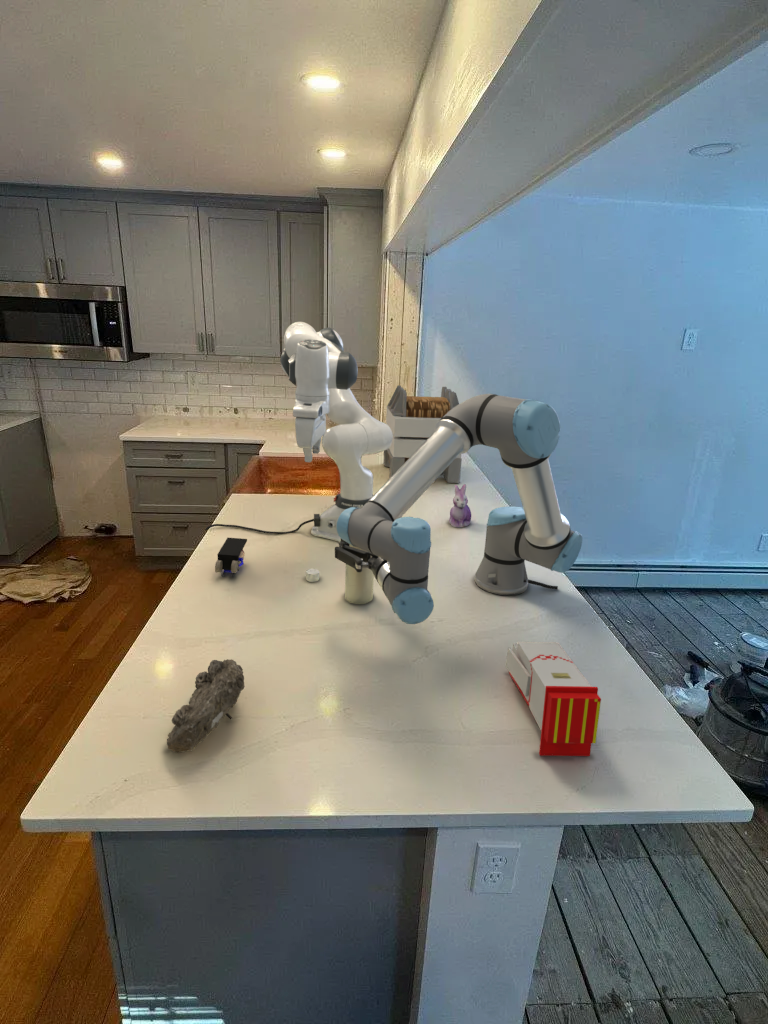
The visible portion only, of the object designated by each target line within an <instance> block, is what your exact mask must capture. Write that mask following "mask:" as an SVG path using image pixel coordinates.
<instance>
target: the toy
mask: <svg viewBox="0 0 768 1024" xmlns="http://www.w3.org/2000/svg"><path fill="white" fill-rule="evenodd" d="M511 646H512V647H508V648H507V653H506V658H505V659H506V660H505V668H506V669H507V671H508V675H509V676H510V677H511V679H512V681H513V682H514V684H515V686H516V688H517V689H518V691H519V693H520V694H521V696H522V698H523V700H524V702H525V703H526V705H527V706H528V708H529V710H530V712H531V715H532V716H533V718H534V720H535V722H536V723H537V724H536V725H537V726H538V727H539V730H540V731H541V733H540V739H539V740H540V741H539V749H538V751H539V752H538V754H539V756H543V757H548V756H550V757H551V756H552V757H553V756H554V757H568V756H569V757H591V751H592V744H596V743H597V734H598V726H599V717H600V710H601V702H602V698H601V697H600V696H599V694H598V693H599V688H598V686H592V684H590V682H589V681H588V680H587V678H586V677H585V676H584V675H583V673H582V672H581V671H580V669H579V668H578V667H577V665H576V664H575V663H574V661H573V660H572V659H571V658H570V656H569V655H568V654H567V652H566V651H565V649H564V647H562V645H561V644H560V643H559V642H553V641H551V642H549V641H548V642H547V641H546V642H545V641H517V642H512V645H511Z"/></svg>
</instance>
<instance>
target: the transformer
mask: <svg viewBox="0 0 768 1024" xmlns="http://www.w3.org/2000/svg"><path fill="white" fill-rule="evenodd" d="M440 393H441V394H440V396H415V395H414V396H413V395H412V396H411V395H407V394H408V393H407V390H406V389H404V388H403V387H402V385H399V384H398V385H397V386H396V388H395V390H394V392H393V394H392V395H391V398H390V400H389V402H388V404H387V405H386V413H385V414H386V415H385V423H386V424H387V425H388V426H389V427H390V429H391V431H392V436H393V438H392V443H391V446H390V447H389V448H388V449H387V450H385V451H383V466H384V467H388V468H389V475H388V476H389V477H388V478H389V479H390V478H391V477H392V476H393V475H394V474H395V473H396V471H397V470H398V469H399V468H400V467H401V466H402V465H403V464H404V463H405V462H406V461H407V460H408V459H409V458H410V457H411V456H412V455H413V454H414V453H415V452H416V451H417V450H418V449H419V448H420V446H421V445H422V444H423V443H424V442H425V441H426V440H427V439H428V438H429V437H430V436H431V435H432V434H433V433H434V432H435V425H436V423H437V422H438V421H439V420H440V419H441V418H442V417H443V416H444V415H445V414H447V413H448V412H449V411H450V410H451V409H453V408H454V407H456V406H457V405H459V404H460V402H459V398H458V395H457V392H455V391H453V390H452V389H451V388H447V386H442V387H441V392H440ZM462 461H463V460H462V454H459V455H458V456H457V457H456V458H455V459H454V460H453V461H452V462H451V464H450V465H449V466H448V467H447V468H446V469H445V470H444V471H443V472H442V473H441V474H440V475H443V478H444V479H445V481H446V482H447V483H449V484H455V483H456V484H459V483H461V472H462Z"/></svg>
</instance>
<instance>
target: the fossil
mask: <svg viewBox="0 0 768 1024" xmlns="http://www.w3.org/2000/svg"><path fill="white" fill-rule="evenodd" d="M243 670H244V669H243V667H242V665H240V664H237V662H236V661H235V660H234V659H232V658H231V659H227V658H226V659H224V660H223V661H222V660H217V659H212V660H211V661H210V663H209V665H208V666H207V671H201V672H199V673H198V674H197V675H196V676H195V680H194V684H195V685H194V687H195V689H194V690H193V693H192V694H191V697H190V698H189V700H188V704H184V705H182V706H181V707H180V709H177V710H176V711H175V713H174V715H173V716H172V718H171V723H172V724H173V727H172V730H171V731H170V732H168V734H167V738H166V741H167V742H166V745H167V749H168V750H169V751H173V752H174V753H176V754H178V753H182V752H188V751H189V752H192V751H193V750H195V748H196V747H197V746H199V744H200V743H201V742H203V741H204V740H205V739H206V738H207V737H208V736H209V735H210V734H211V733H212V732H214V730H215V729H217V727H218V726H219V724H220V722H221V721H222V720H223V719H224V718H225V716H226V717H227V719H229V720H233V717H232V715H230V714H229V710H230V709H231V708H234V706H235V704H236V703H237V702H238V699H239V697H240V695H241V693H242V691H243V690H245V689H244V688H245V675H244V671H243Z"/></svg>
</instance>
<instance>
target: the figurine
mask: <svg viewBox="0 0 768 1024" xmlns="http://www.w3.org/2000/svg"><path fill="white" fill-rule="evenodd" d="M453 488H454V496H453V498H452V503H453V506H452V507H451V508H450V511H449V518H448V519H449V520H448V523H449V524H450V525H451V527H454V528H464V527H468V526H469V525H470V524H471V520H472V511H471V508H470V506H469V505H468V503H469V499H468V497H467V495H466V490H467V484H465V483H464V484H463V485H462V486H461V488H459V486H458V485H457V484H454V487H453Z"/></svg>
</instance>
